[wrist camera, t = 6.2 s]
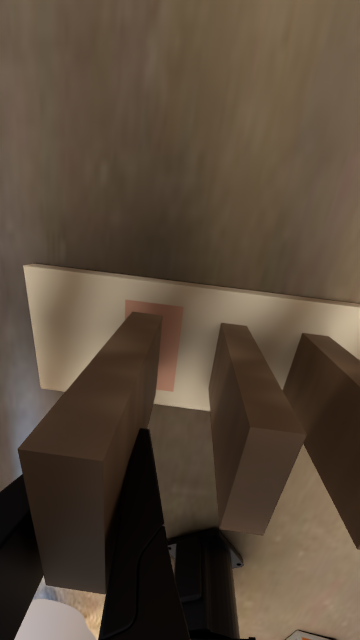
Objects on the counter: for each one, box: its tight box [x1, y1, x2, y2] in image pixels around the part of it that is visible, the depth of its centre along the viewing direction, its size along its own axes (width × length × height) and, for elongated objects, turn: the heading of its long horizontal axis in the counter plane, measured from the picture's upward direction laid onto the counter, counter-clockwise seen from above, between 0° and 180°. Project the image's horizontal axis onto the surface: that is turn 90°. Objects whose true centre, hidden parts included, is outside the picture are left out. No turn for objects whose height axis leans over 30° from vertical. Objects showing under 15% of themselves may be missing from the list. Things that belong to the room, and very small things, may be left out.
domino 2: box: [208, 323, 307, 535], centre depth 11 cm, size 2×5×8 cm, turn 174°
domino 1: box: [18, 312, 163, 594], centre depth 9 cm, size 2×5×8 cm, turn 174°
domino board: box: [23, 263, 360, 411], centre depth 15 cm, size 32×9×1 cm, turn 84°
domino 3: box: [282, 333, 360, 550], centre depth 11 cm, size 2×5×8 cm, turn 174°
